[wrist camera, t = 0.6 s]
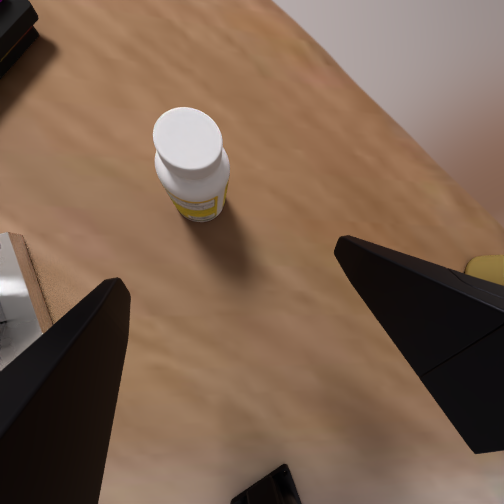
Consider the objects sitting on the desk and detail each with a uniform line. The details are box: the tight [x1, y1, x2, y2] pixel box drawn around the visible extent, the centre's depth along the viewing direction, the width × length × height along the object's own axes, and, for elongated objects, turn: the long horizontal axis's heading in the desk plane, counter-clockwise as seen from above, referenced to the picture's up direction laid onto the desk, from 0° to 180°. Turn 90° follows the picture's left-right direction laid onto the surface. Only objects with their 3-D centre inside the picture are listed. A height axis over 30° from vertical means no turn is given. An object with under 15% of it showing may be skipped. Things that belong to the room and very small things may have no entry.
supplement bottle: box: [153, 107, 230, 222], centre depth 16 cm, size 5×5×10 cm
